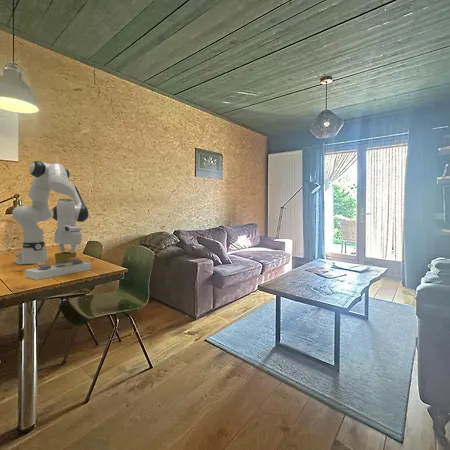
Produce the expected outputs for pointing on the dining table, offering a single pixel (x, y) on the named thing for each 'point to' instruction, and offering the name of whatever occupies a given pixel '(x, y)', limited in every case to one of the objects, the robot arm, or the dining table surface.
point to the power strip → (56, 270)
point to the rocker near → (42, 265)
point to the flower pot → (64, 256)
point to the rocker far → (75, 260)
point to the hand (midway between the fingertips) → (67, 252)
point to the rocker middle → (60, 262)
